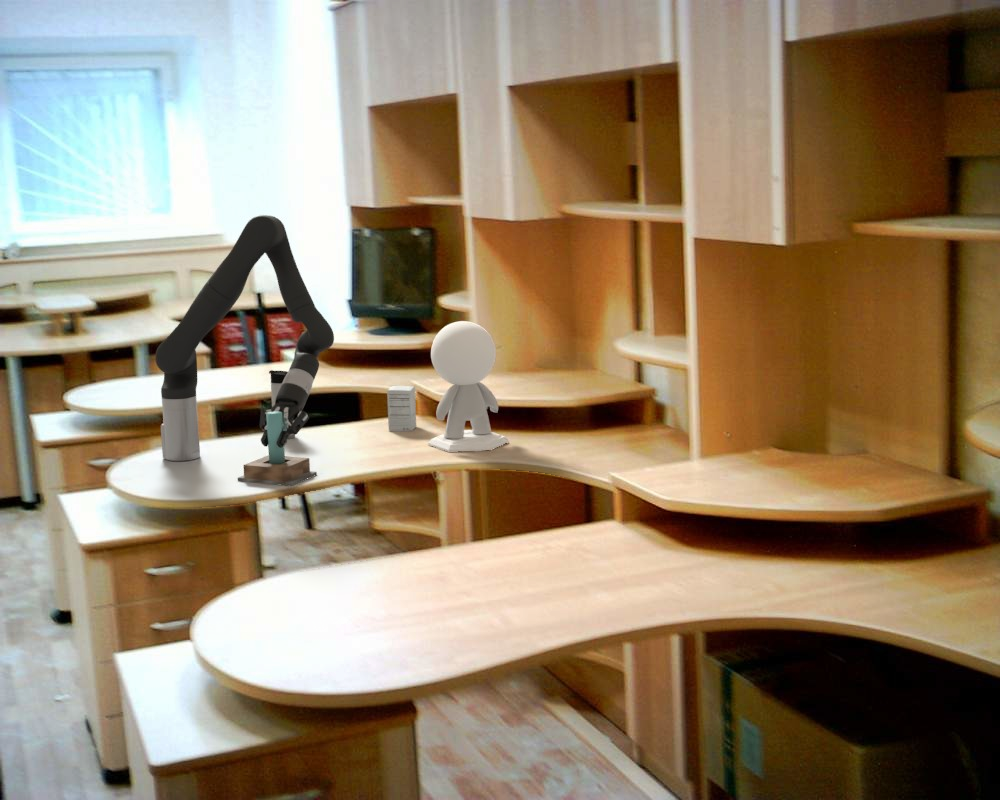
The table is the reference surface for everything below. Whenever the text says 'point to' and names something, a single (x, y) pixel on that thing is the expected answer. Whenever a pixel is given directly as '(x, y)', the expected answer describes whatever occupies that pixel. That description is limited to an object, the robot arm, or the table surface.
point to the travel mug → (277, 386)
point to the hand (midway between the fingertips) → (271, 445)
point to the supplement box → (401, 408)
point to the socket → (277, 471)
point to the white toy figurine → (465, 387)
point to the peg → (275, 437)
